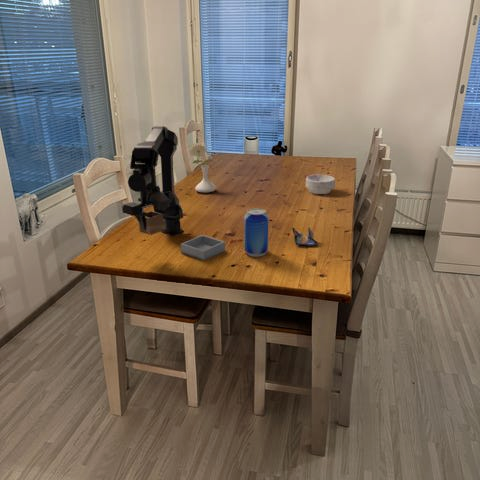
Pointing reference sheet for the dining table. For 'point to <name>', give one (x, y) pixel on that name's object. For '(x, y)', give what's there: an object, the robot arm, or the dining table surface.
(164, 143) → the robot arm
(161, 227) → the walnut crate
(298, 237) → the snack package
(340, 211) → the dining table surface
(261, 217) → the beer can
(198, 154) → the flower in vase
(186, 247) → the grey crate
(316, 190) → the paper bowls
